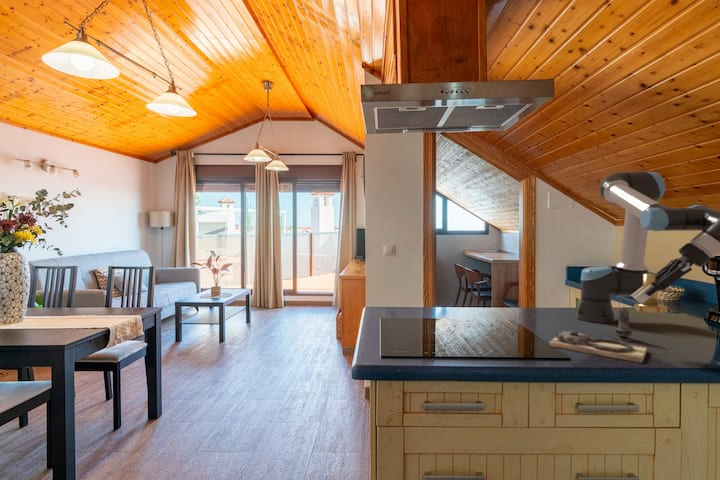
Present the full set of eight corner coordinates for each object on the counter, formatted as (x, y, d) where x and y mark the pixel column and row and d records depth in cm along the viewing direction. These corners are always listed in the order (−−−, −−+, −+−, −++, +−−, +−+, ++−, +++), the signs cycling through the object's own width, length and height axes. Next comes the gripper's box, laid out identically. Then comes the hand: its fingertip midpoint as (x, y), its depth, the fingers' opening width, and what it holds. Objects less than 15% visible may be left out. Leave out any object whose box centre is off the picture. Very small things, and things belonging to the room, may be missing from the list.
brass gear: (635, 307, 134) (635, 272, 134) (667, 310, 128) (667, 273, 128) (632, 311, 127) (633, 274, 127) (666, 314, 122) (666, 276, 121)
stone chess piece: (636, 341, 140) (636, 308, 139) (618, 340, 141) (618, 307, 141) (628, 337, 146) (629, 305, 145) (611, 336, 147) (611, 304, 146)
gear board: (560, 337, 145) (560, 325, 145) (646, 351, 128) (646, 338, 128) (549, 346, 135) (549, 333, 135) (641, 362, 118) (642, 348, 118)
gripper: (722, 261, 113) (652, 313, 120) (700, 257, 129) (639, 303, 136) (699, 242, 115) (632, 295, 123) (680, 240, 131) (621, 287, 138)
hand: (636, 299), depth 129 cm, fingers closed on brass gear, 4 cm apart
